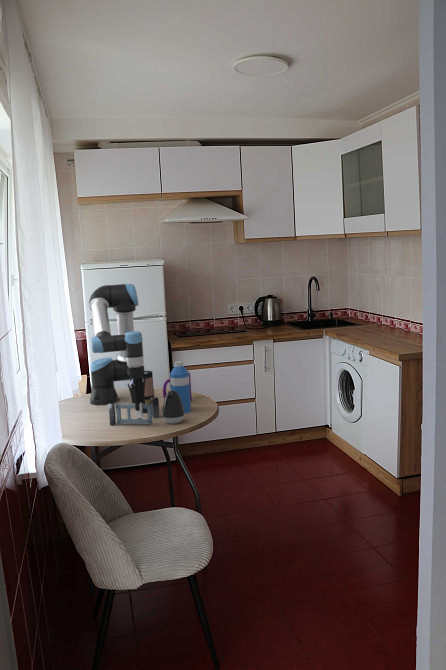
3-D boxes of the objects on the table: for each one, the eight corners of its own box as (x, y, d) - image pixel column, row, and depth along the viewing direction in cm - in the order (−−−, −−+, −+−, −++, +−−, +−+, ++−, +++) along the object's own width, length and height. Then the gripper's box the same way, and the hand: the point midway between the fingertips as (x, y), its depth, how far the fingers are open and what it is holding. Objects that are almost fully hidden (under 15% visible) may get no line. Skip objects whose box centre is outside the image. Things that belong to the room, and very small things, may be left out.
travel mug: (152, 413, 279) (149, 373, 276) (137, 413, 280) (134, 373, 278) (157, 409, 286) (154, 370, 283) (142, 409, 288) (140, 370, 285)
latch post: (146, 417, 273) (145, 397, 271) (157, 415, 275) (155, 396, 274) (149, 419, 270) (147, 399, 268) (159, 417, 272) (158, 397, 271)
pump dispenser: (159, 425, 258) (157, 392, 256) (167, 418, 268) (165, 387, 266) (180, 426, 256) (178, 393, 253) (188, 419, 266) (186, 387, 263)
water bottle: (179, 408, 286) (176, 359, 282) (194, 410, 281) (191, 360, 278) (168, 413, 278) (165, 363, 274) (184, 415, 273) (181, 364, 270)
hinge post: (109, 424, 264) (107, 403, 263) (115, 423, 265) (113, 402, 264) (110, 425, 262) (109, 404, 260) (116, 424, 263) (115, 403, 261)
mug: (194, 401, 297) (193, 373, 295) (167, 406, 290) (165, 378, 288) (187, 398, 305) (185, 371, 303) (160, 403, 298) (158, 375, 296)
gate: (118, 422, 264) (116, 404, 262) (152, 422, 261) (151, 404, 259) (117, 423, 262) (115, 405, 261) (151, 423, 259) (150, 405, 258)
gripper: (136, 368, 247) (139, 421, 250) (149, 363, 259) (153, 413, 262) (121, 368, 249) (125, 420, 252) (135, 363, 261) (138, 412, 264)
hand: (139, 416), depth 257 cm, fingers closed
